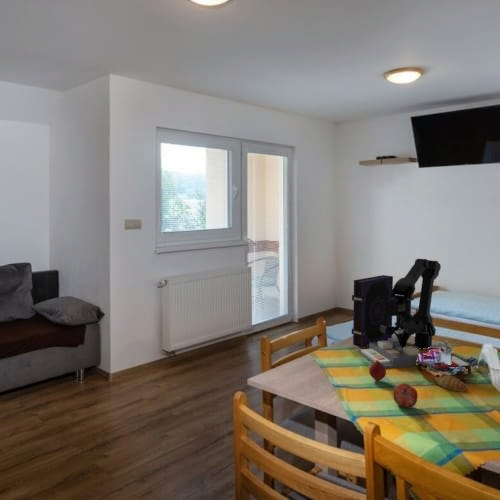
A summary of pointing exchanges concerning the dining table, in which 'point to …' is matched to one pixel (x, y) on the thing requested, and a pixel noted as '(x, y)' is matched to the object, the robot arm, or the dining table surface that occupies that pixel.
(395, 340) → the key slate
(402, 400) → the pomegranate
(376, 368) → the onion
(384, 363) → the keypad console
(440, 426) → the dining table surface
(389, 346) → the light grey key
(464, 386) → the pastry
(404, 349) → the key sand
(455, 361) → the calculator
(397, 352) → the key terracotta
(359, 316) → the book
